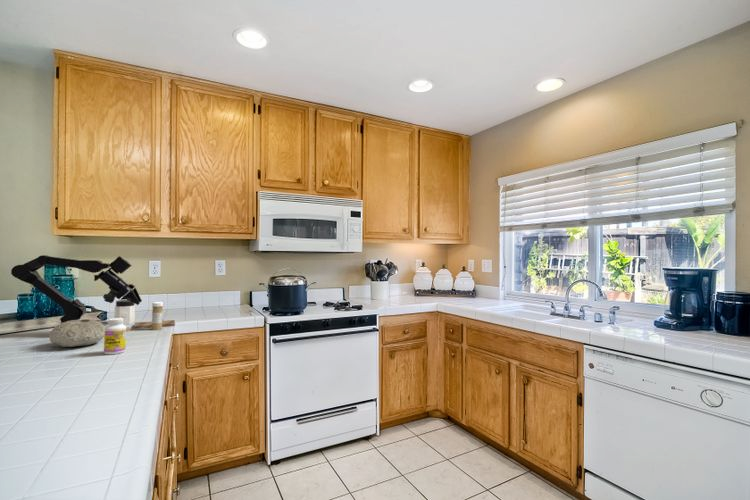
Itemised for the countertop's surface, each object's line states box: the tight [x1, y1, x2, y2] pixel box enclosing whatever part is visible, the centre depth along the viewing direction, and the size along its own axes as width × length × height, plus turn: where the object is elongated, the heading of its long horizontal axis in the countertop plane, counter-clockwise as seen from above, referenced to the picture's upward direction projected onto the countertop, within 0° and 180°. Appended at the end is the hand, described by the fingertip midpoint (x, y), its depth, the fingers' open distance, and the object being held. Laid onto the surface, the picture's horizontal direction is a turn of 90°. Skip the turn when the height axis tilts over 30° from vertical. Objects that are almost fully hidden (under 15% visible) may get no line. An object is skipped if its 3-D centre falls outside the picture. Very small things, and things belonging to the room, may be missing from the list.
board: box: [132, 319, 176, 330], centre depth 186 cm, size 18×11×1 cm, turn 121°
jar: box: [114, 299, 136, 325], centre depth 190 cm, size 9×8×12 cm
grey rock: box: [48, 318, 106, 348], centre depth 145 cm, size 18×18×10 cm
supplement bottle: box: [103, 318, 127, 356], centre depth 135 cm, size 7×7×13 cm
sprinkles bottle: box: [151, 301, 164, 331], centre depth 177 cm, size 5×5×14 cm
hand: (139, 302), depth 174 cm, fingers open, 9 cm apart
